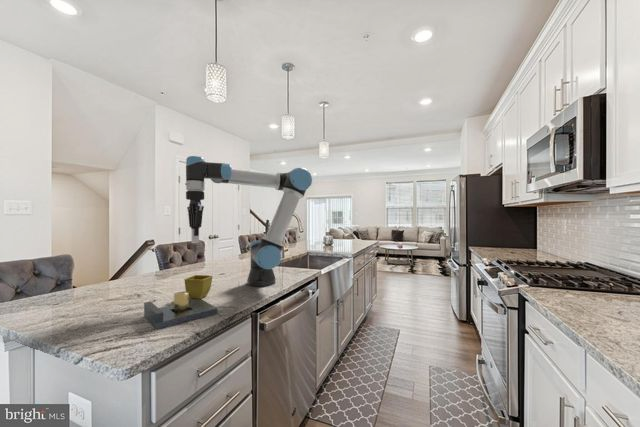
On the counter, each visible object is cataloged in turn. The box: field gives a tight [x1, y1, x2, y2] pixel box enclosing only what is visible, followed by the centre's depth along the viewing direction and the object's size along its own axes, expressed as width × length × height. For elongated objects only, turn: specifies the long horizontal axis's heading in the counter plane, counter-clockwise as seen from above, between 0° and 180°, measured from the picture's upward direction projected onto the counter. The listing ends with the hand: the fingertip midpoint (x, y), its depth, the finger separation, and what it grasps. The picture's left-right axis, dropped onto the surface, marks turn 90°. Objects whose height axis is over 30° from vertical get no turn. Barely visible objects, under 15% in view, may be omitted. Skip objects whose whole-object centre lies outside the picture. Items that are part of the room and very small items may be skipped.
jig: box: [143, 298, 219, 331], centre depth 97 cm, size 20×16×5 cm
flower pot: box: [184, 274, 213, 300], centre depth 119 cm, size 9×9×9 cm
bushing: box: [173, 290, 190, 314], centre depth 97 cm, size 5×5×8 cm
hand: (195, 243), depth 120 cm, fingers closed
